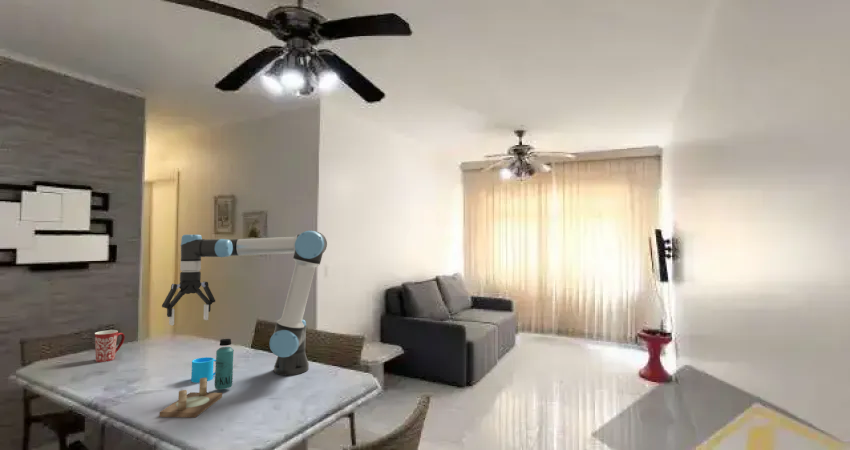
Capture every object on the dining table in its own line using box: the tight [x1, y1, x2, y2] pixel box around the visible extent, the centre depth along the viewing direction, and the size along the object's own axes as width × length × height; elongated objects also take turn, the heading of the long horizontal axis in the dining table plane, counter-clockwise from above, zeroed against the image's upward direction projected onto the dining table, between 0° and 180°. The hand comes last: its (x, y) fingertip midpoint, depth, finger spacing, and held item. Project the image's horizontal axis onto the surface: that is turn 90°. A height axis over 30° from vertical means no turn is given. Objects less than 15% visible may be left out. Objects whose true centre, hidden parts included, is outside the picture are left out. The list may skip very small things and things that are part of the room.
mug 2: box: [190, 356, 216, 384], centre depth 175 cm, size 12×8×8 cm
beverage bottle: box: [214, 338, 234, 390], centre depth 161 cm, size 6×7×20 cm
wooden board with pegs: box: [158, 378, 223, 418], centre depth 145 cm, size 12×18×8 cm, turn 0°
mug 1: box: [94, 329, 126, 363], centre depth 200 cm, size 13×9×14 cm
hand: (189, 322), depth 171 cm, fingers open, 13 cm apart
